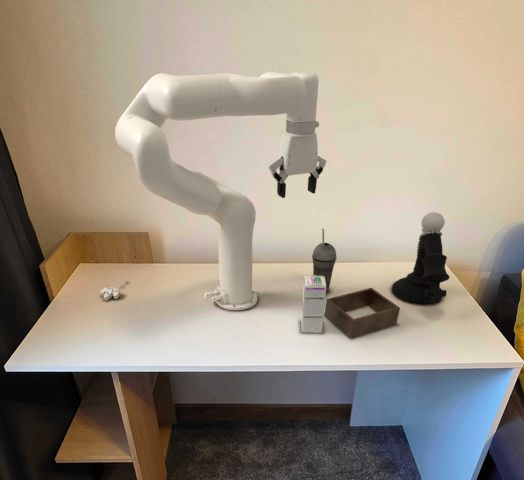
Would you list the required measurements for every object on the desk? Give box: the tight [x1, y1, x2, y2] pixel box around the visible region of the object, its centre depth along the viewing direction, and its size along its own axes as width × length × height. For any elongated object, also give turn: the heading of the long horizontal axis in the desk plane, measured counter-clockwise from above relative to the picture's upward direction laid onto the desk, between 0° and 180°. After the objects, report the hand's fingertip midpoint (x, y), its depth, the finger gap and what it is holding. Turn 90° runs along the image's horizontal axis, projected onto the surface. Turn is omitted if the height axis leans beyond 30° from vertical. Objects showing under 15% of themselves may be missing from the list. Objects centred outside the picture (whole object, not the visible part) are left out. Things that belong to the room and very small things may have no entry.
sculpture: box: [391, 211, 451, 306], centre depth 130 cm, size 15×24×25 cm, turn 0°
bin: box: [324, 287, 401, 339], centre depth 126 cm, size 16×13×6 cm
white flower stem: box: [99, 281, 126, 302], centre depth 138 cm, size 6×12×3 cm, turn 179°
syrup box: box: [300, 274, 327, 334], centre depth 120 cm, size 6×6×14 cm
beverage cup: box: [311, 228, 337, 295], centre depth 135 cm, size 7×7×20 cm
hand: (296, 194), depth 128 cm, fingers open, 9 cm apart
